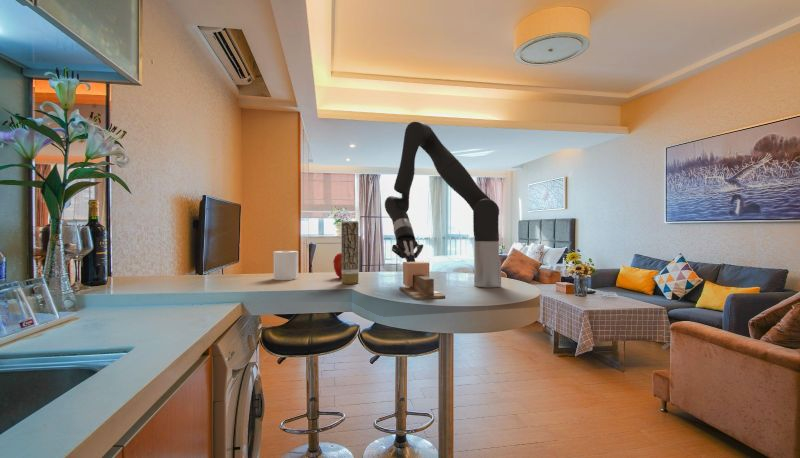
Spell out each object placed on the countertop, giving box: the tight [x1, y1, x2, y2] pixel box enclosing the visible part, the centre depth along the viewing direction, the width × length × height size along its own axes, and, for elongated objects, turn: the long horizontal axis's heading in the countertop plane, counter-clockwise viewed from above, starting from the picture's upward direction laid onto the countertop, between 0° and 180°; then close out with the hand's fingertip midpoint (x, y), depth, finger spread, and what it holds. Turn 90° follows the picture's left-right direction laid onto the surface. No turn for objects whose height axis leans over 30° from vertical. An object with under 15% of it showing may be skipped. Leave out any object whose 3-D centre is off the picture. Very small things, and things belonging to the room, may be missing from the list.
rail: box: [399, 275, 446, 300], centre depth 120 cm, size 10×20×6 cm, turn 14°
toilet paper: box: [273, 250, 299, 281], centre depth 155 cm, size 10×10×12 cm
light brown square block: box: [402, 260, 430, 287], centre depth 125 cm, size 8×6×8 cm
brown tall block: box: [341, 220, 360, 285], centre depth 142 cm, size 7×7×25 cm
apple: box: [332, 252, 342, 279], centre depth 157 cm, size 9×9×12 cm
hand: (412, 265), depth 130 cm, fingers closed
